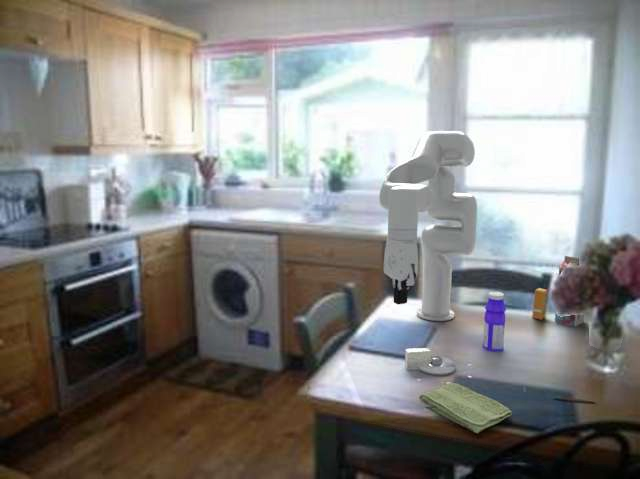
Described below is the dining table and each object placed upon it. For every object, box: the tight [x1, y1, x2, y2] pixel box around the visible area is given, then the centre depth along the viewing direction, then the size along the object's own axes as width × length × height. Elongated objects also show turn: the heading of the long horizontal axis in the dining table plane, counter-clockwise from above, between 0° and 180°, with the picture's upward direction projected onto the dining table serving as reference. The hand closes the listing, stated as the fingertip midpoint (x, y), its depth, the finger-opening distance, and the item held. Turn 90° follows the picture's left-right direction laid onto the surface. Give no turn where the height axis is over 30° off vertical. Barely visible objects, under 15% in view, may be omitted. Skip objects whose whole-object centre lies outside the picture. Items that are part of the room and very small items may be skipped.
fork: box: [523, 386, 597, 404], centre depth 127 cm, size 3×16×2 cm, turn 75°
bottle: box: [482, 291, 507, 353], centre depth 153 cm, size 7×6×17 cm
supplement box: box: [531, 287, 548, 321], centre depth 182 cm, size 3×3×10 cm
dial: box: [404, 347, 456, 376], centre depth 140 cm, size 13×10×5 cm
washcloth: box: [419, 382, 513, 434], centre depth 122 cm, size 13×18×3 cm
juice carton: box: [554, 255, 585, 327], centre depth 176 cm, size 7×7×22 cm
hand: (400, 302), depth 142 cm, fingers closed
